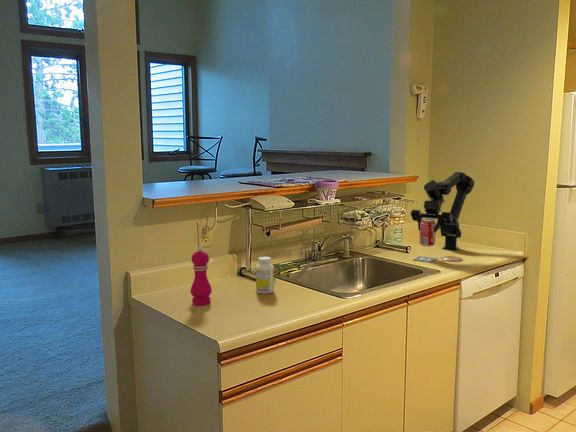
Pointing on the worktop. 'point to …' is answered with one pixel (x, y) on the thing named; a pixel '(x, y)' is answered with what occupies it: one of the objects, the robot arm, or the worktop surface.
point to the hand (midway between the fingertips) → (426, 231)
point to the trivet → (451, 258)
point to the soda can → (427, 232)
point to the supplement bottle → (264, 276)
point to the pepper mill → (200, 279)
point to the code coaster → (425, 259)
